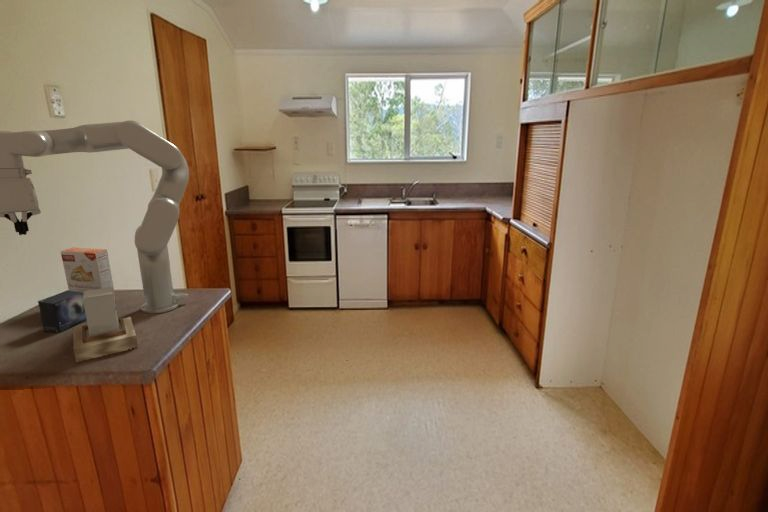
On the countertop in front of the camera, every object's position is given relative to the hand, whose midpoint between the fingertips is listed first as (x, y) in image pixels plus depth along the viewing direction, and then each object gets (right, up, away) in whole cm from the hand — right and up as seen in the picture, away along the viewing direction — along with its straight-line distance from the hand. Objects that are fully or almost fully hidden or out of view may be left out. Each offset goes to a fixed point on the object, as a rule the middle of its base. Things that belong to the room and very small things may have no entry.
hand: (23, 234), depth 127 cm
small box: (+7, -30, +9) cm, 32 cm away
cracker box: (+3, -25, +27) cm, 37 cm away
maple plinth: (+28, -34, -3) cm, 44 cm away
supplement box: (+28, -30, -3) cm, 41 cm away
